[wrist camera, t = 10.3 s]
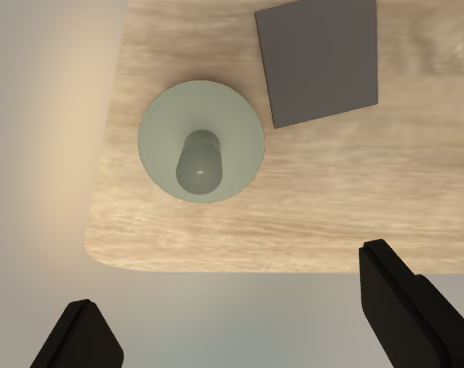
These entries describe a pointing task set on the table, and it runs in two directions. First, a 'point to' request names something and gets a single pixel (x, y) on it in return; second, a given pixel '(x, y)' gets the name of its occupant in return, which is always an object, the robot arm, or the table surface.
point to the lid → (201, 141)
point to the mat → (319, 58)
